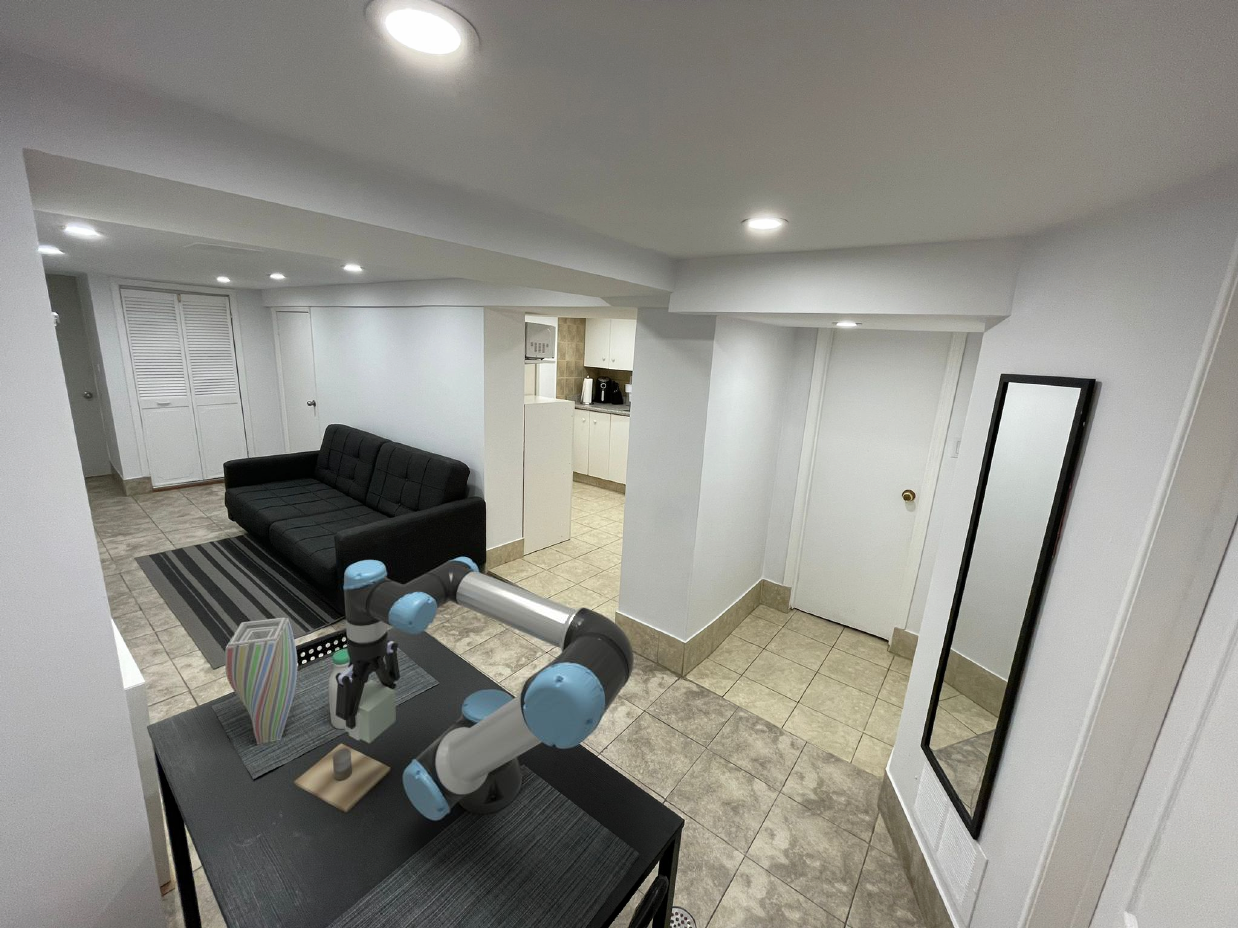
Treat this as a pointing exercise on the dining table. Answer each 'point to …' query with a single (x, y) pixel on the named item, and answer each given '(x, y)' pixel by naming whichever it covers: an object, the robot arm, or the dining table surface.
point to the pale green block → (376, 710)
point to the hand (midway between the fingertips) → (370, 724)
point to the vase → (264, 673)
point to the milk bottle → (340, 666)
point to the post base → (346, 787)
